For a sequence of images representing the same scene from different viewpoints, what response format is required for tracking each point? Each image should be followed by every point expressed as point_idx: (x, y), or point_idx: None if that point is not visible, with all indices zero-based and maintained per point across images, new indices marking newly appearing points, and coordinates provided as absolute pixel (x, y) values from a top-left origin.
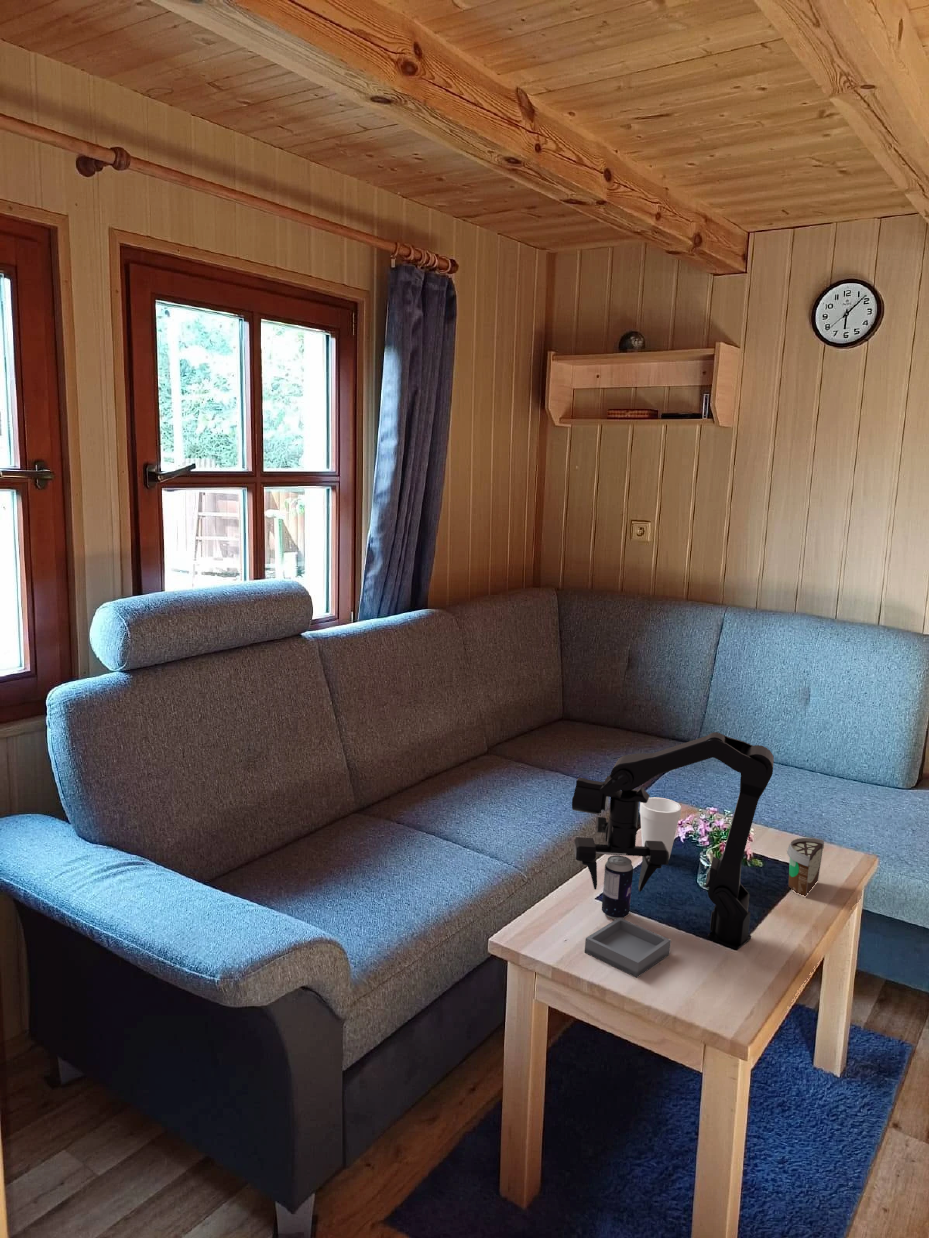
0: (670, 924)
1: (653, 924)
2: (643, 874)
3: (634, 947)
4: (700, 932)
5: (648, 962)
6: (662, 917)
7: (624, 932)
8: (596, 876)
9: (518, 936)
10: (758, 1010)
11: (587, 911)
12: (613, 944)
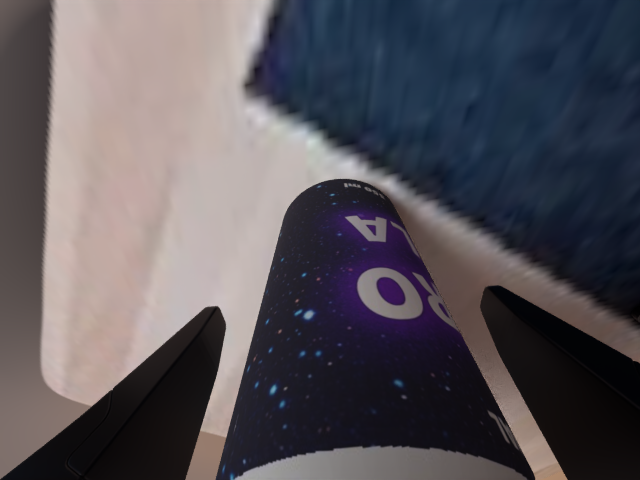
0: (542, 256)
1: (474, 266)
2: (578, 468)
3: None
4: (627, 285)
5: None
6: (536, 212)
7: None
8: (189, 456)
9: (77, 372)
10: (552, 469)
11: (228, 223)
12: None
